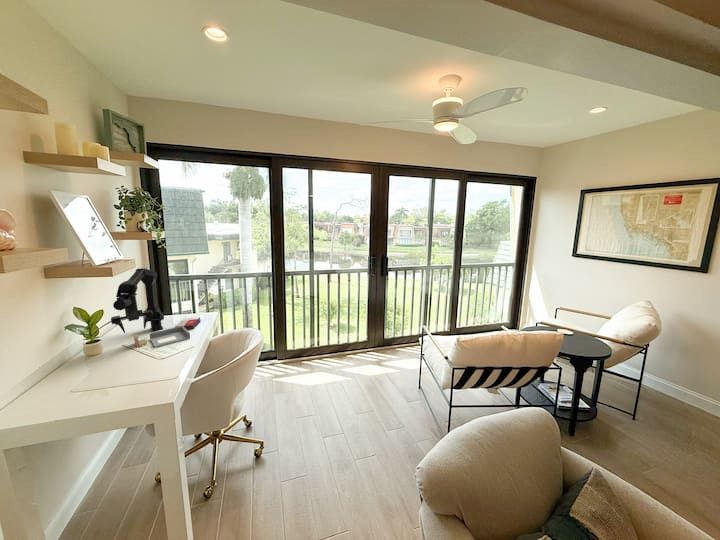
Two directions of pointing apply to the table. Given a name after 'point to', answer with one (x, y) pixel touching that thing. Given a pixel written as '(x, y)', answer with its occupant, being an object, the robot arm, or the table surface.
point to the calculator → (189, 323)
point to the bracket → (139, 343)
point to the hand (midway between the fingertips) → (134, 330)
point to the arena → (169, 336)
